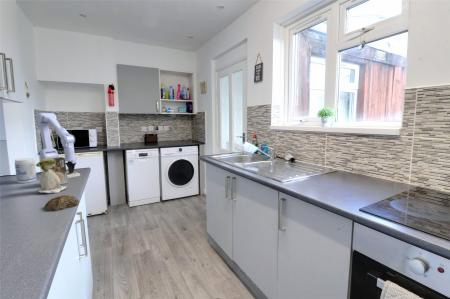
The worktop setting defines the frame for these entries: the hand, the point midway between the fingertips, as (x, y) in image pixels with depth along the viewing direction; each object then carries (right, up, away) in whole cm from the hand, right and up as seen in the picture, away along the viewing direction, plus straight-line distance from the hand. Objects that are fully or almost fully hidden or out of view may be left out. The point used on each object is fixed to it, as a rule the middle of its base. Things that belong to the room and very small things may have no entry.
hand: (71, 172), depth 158 cm
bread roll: (+31, -11, -53) cm, 63 cm away
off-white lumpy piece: (+11, -7, -31) cm, 34 cm away
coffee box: (+4, -6, -19) cm, 20 cm away
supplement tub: (-21, -5, -12) cm, 24 cm away
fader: (-2, -1, +2) cm, 3 cm away
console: (-5, -3, 0) cm, 5 cm away
